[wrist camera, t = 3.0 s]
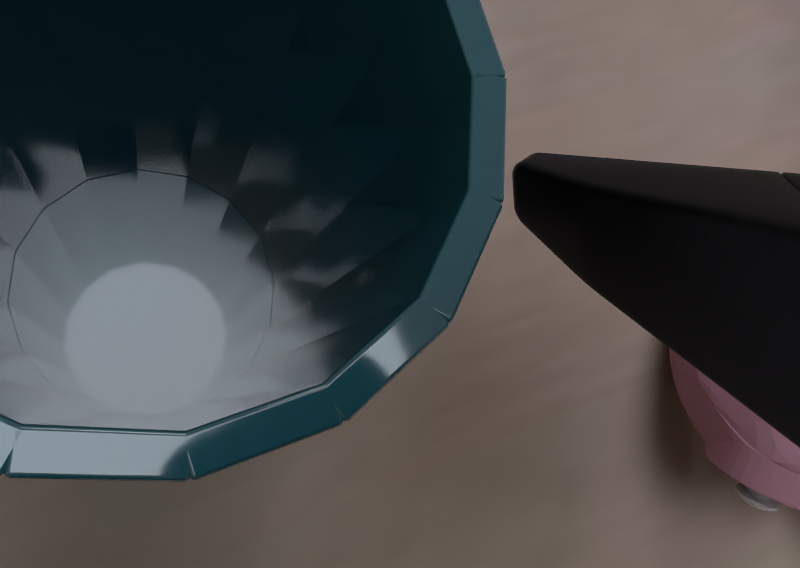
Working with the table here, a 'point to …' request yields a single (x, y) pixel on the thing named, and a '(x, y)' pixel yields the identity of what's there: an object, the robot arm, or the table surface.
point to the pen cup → (230, 219)
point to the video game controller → (739, 441)
